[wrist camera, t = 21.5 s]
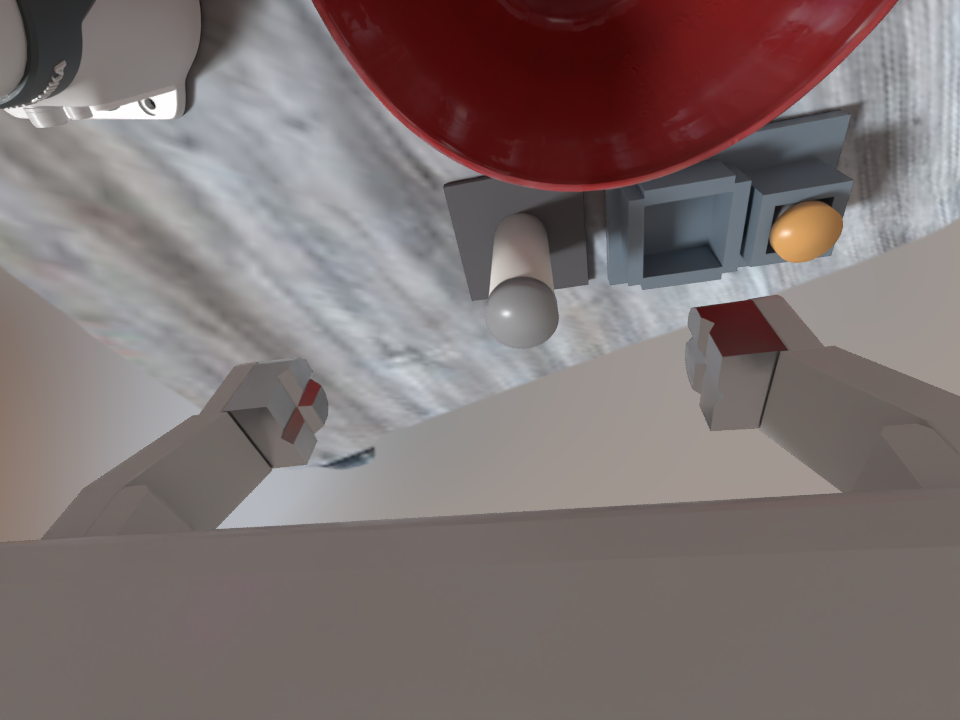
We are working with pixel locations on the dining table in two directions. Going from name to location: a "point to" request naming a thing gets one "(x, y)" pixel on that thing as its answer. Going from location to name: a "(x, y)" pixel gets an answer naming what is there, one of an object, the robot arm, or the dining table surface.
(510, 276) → the cartridge
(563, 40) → the mixing bowl
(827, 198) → the grey double open block
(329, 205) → the dining table surface
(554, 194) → the mat
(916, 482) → the robot arm
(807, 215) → the brown egg
